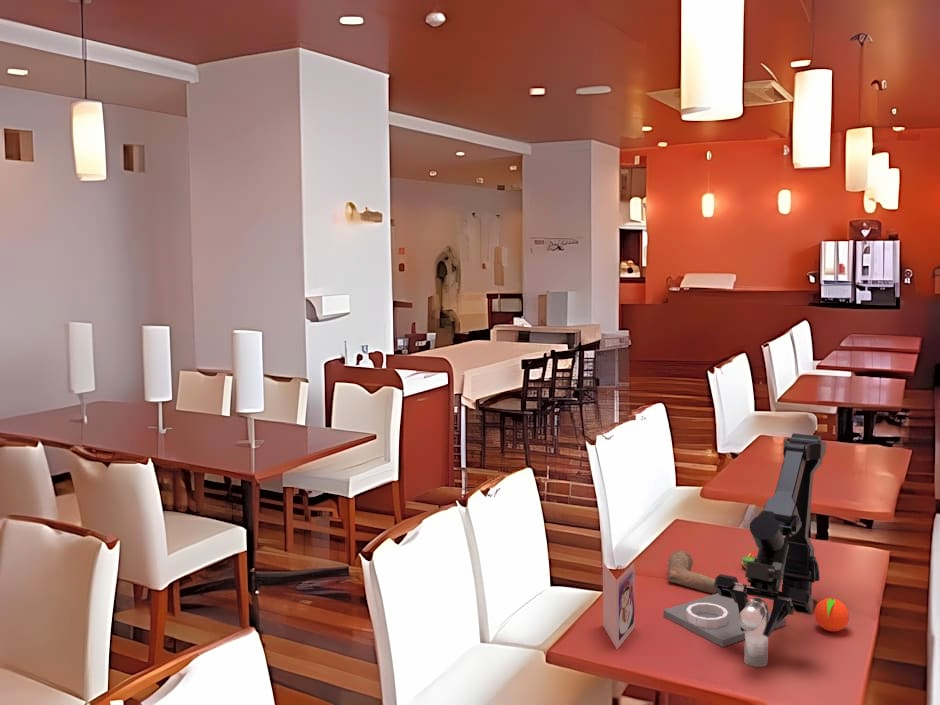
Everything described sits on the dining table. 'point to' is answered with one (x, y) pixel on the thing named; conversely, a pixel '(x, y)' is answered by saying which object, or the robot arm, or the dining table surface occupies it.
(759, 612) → the chrome ball-end rod
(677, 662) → the dining table surface
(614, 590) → the greeting card
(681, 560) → the pipe
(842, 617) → the clementine
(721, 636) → the duct flange
